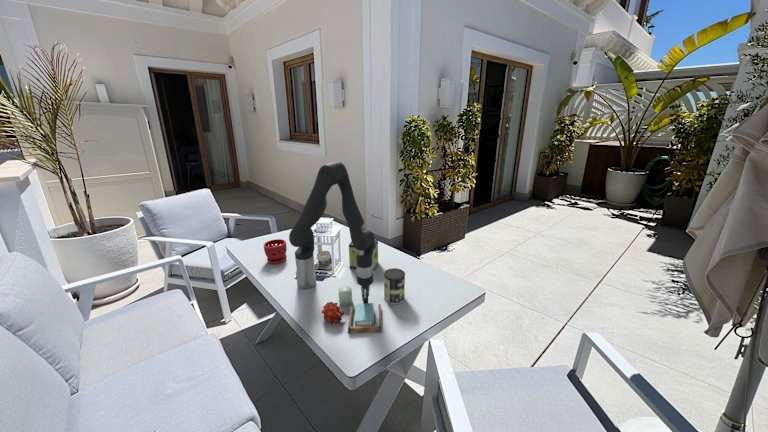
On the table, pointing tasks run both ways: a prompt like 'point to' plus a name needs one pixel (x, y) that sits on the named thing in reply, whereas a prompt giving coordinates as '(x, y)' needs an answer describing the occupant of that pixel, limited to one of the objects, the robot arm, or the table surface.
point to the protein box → (354, 251)
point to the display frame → (364, 328)
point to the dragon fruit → (332, 312)
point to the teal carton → (364, 314)
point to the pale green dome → (345, 295)
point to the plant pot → (275, 251)
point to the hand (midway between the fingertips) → (365, 305)
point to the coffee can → (394, 286)
